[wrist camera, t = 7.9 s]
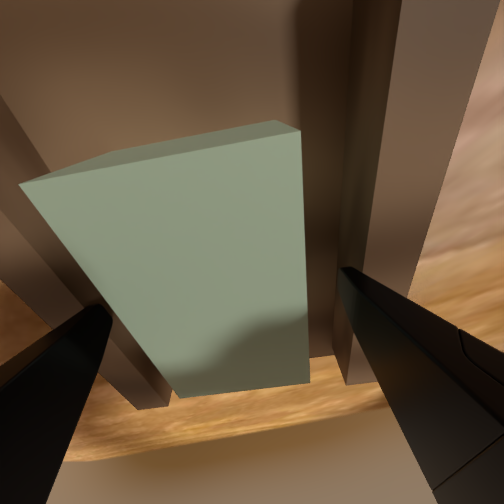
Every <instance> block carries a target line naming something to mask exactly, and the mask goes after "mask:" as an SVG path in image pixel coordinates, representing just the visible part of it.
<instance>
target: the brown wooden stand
mask: <svg viewBox="0 0 504 504" xmlns="http://www.w3.org/2000/svg"><path fill="white" fill-rule="evenodd" d="M499 2H500V0H0V279H1V280H2V281H3V282H4V283H5V284H6V285H7V286H8V287H9V288H10V289H11V290H12V291H13V292H14V293H15V294H16V295H18V296H19V297H20V298H21V299H22V300H23V301H24V302H25V303H26V304H27V305H28V306H29V307H30V308H31V309H32V310H33V311H34V312H35V313H36V314H37V315H39V316H40V317H41V318H42V319H43V320H44V321H45V322H46V323H47V324H48V325H49V326H50V327H51V328H52V329H55V328H56V327H58V326H59V325H61V324H62V323H64V322H65V321H66V320H68V319H69V318H71V317H72V316H74V315H75V314H77V313H78V312H79V311H81V310H82V309H84V308H85V307H87V306H89V305H93V304H102V305H103V306H104V307H105V309H106V310H107V311H108V312H109V314H110V315H111V316H112V318H113V325H112V328H111V332H110V335H109V339H108V342H107V345H106V349H105V352H104V356H103V359H102V362H101V365H100V368H99V370H98V373H99V374H100V375H102V376H103V377H104V378H105V379H106V380H107V381H108V382H109V383H110V384H111V385H112V386H113V387H114V388H115V389H116V390H117V391H118V392H119V393H120V394H121V395H123V396H124V397H125V398H126V399H127V400H128V401H129V402H130V403H131V404H132V405H133V406H134V407H135V408H136V409H137V410H141V409H150V408H158V407H167V406H168V405H169V401H170V397H171V393H172V388H171V386H170V385H169V384H168V382H167V381H166V380H165V378H164V377H163V376H162V374H161V373H160V372H159V370H158V369H157V368H156V366H155V365H154V364H153V362H152V361H151V360H150V358H149V357H148V356H147V354H146V353H145V352H144V350H143V349H142V348H141V346H140V345H139V344H138V342H137V341H136V340H135V338H134V337H133V336H132V334H131V333H130V332H129V331H128V329H127V328H126V327H125V325H124V324H123V323H122V321H121V320H120V319H119V317H118V316H117V315H116V313H115V312H114V311H113V309H112V308H111V307H110V305H109V304H108V303H107V301H106V300H105V299H104V297H103V296H102V295H101V293H100V292H99V291H98V289H97V288H96V287H95V285H94V284H93V283H92V281H91V280H90V279H89V277H88V276H87V275H86V274H85V272H84V271H83V270H82V268H81V267H80V266H79V264H78V263H77V262H76V260H75V259H74V258H73V256H72V255H71V254H70V252H69V251H68V250H67V248H66V247H65V246H64V244H63V243H62V242H61V240H60V239H59V238H58V236H57V235H56V234H55V232H54V231H53V230H52V228H51V227H50V226H49V224H48V223H47V222H46V221H45V219H44V218H43V217H42V215H41V214H40V213H39V211H38V210H37V209H36V207H35V206H34V205H33V203H32V202H31V201H30V199H29V198H28V197H27V195H26V194H25V193H24V191H23V190H22V189H21V187H20V186H19V185H18V184H20V183H23V182H26V181H29V180H32V179H35V178H37V177H40V176H43V175H46V174H49V173H52V172H54V171H57V170H60V169H63V168H66V167H69V166H71V165H74V164H77V163H80V162H83V161H86V160H88V159H91V158H94V157H97V156H100V155H103V154H106V153H108V152H111V151H116V150H121V149H127V148H132V147H137V146H142V145H147V144H152V143H158V142H163V141H168V140H173V139H178V138H183V137H189V136H194V135H199V134H204V133H209V132H214V131H220V130H225V129H230V128H235V127H240V126H245V125H251V124H256V123H261V122H266V121H271V120H277V121H280V122H282V123H284V124H286V125H289V126H291V127H293V128H296V129H298V130H300V131H301V151H302V177H303V204H304V230H305V257H306V284H307V310H308V337H309V358H314V357H322V356H330V355H335V357H336V359H337V362H338V365H339V368H340V370H341V373H342V376H343V378H344V381H345V384H346V385H354V384H362V383H371V382H378V381H377V379H376V377H375V375H374V373H373V371H372V369H371V367H370V365H369V363H368V361H367V359H366V357H365V355H364V353H363V351H362V349H361V346H360V344H359V342H358V340H357V338H356V336H355V334H354V332H353V330H352V328H351V325H350V322H349V319H348V317H347V314H346V311H345V308H344V305H343V303H342V300H341V297H340V294H339V291H338V287H337V281H338V270H339V268H341V267H347V266H351V267H354V268H355V269H357V270H359V271H360V272H362V273H364V274H366V275H367V276H369V277H371V278H373V279H374V280H376V281H378V282H380V283H381V284H383V285H385V286H387V287H388V288H390V289H392V290H394V291H395V292H397V293H399V294H401V295H402V296H404V297H406V298H407V295H408V292H409V289H410V286H411V282H412V279H413V276H414V273H415V270H416V266H417V263H418V260H419V257H420V254H421V251H422V247H423V244H424V241H425V238H426V235H427V231H428V228H429V225H430V222H431V219H432V216H433V212H434V209H435V206H436V203H437V200H438V196H439V193H440V190H441V187H442V184H443V181H444V177H445V174H446V171H447V168H448V165H449V161H450V158H451V155H452V152H453V149H454V146H455V142H456V139H457V136H458V133H459V130H460V126H461V123H462V120H463V117H464V114H465V111H466V107H467V104H468V101H469V98H470V95H471V91H472V88H473V85H474V82H475V79H476V76H477V72H478V69H479V66H480V63H481V60H482V57H483V53H484V50H485V47H486V44H487V41H488V37H489V34H490V31H491V28H492V25H493V22H494V18H495V15H496V12H497V9H498V6H499Z"/></svg>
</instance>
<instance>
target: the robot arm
mask: <svg viewBox="0 0 504 504" xmlns="http://www.w3.org/2000/svg"><path fill="white" fill-rule="evenodd" d="M337 287H338V291H339V294H340V297H341V300H342V303H343V305H344V308H345V311H346V314H347V317H348V319H349V322H350V325H351V328H352V330H353V332H354V334H355V336H356V338H357V340H358V342H359V344H360V346H361V349H362V351H363V353H364V355H365V357H366V359H367V361H368V363H369V365H370V367H371V369H372V371H373V373H374V375H375V377H376V379H377V381H378V383H379V385H380V387H381V389H382V391H383V393H384V395H385V397H386V399H387V401H388V403H389V405H390V407H391V409H392V411H393V413H394V415H395V417H396V419H397V421H398V423H399V425H400V427H401V430H402V432H403V433H404V436H405V438H406V440H407V442H408V444H409V446H410V448H411V450H412V452H413V454H414V456H415V458H416V460H417V462H418V464H419V466H420V468H421V470H422V472H423V474H424V476H425V478H426V480H427V482H428V484H429V486H430V488H431V490H433V491H432V493H433V494H434V497H435V499H436V501H437V503H438V504H504V353H503V352H501V351H499V350H497V349H496V348H494V347H492V346H490V345H488V344H486V343H485V342H483V341H481V340H479V339H477V338H476V337H474V336H472V335H470V334H469V333H467V332H465V331H463V330H462V329H458V328H457V327H456V326H455V325H453V324H451V323H449V322H448V321H446V320H444V319H442V318H441V317H439V316H437V315H435V314H434V313H432V312H430V311H428V310H427V309H425V308H423V307H421V306H420V305H418V304H416V303H415V302H413V301H411V300H409V299H408V298H406V297H404V296H402V295H401V294H399V293H397V292H395V291H394V290H392V289H390V288H388V287H387V286H385V285H383V284H381V283H380V282H378V281H376V280H374V279H373V278H371V277H369V276H367V275H366V274H364V273H362V272H360V271H359V270H357V269H355V268H354V267H351V266H347V267H341V268H339V270H338V281H337ZM112 325H113V318H112V316H111V315H110V314H109V312H108V311H107V310H106V309H105V307H104V306H103V305H102V304H93V305H89V306H87V307H85V308H84V309H82V310H81V311H79V312H78V313H77V314H75V315H74V316H72V317H71V318H69V319H68V320H66V321H65V322H64V323H62V324H61V325H59V326H58V327H56V328H55V329H53V330H52V331H51V332H49V333H48V334H46V335H45V336H43V337H42V338H40V339H39V340H37V341H36V342H35V343H33V344H32V345H30V346H29V347H27V348H26V349H24V350H23V351H22V352H20V353H19V354H17V355H16V356H14V357H13V358H11V359H10V360H9V361H7V362H6V363H4V364H3V365H1V366H0V504H46V502H47V500H48V497H49V494H50V492H51V489H52V487H53V484H54V482H55V479H56V477H57V474H58V472H59V469H60V467H61V464H62V462H63V459H64V456H65V454H66V451H67V449H68V446H69V444H70V441H71V439H72V436H73V434H74V431H75V429H76V426H77V423H78V421H79V418H80V416H81V413H82V411H83V408H84V406H85V403H86V401H87V398H88V396H89V393H90V390H91V388H92V385H93V383H94V380H95V378H96V375H97V373H98V370H99V368H100V365H101V362H102V359H103V356H104V352H105V349H106V345H107V342H108V339H109V335H110V332H111V328H112Z"/></svg>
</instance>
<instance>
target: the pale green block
mask: <svg viewBox="0 0 504 504" xmlns="http://www.w3.org/2000/svg"><path fill="white" fill-rule="evenodd" d="M18 185H19V186H20V187H21V189H22V190H23V191H24V193H25V194H26V195H27V197H28V198H29V199H30V201H31V202H32V203H33V205H34V206H35V207H36V209H37V210H38V211H39V213H40V214H41V215H42V217H43V218H44V219H45V221H46V222H47V223H48V224H49V226H50V227H51V228H52V230H53V231H54V232H55V234H56V235H57V236H58V238H59V239H60V240H61V242H62V243H63V244H64V246H65V247H66V248H67V250H68V251H69V252H70V254H71V255H72V256H73V258H74V259H75V260H76V262H77V263H78V264H79V266H80V267H81V268H82V270H83V271H84V272H85V274H86V275H87V276H88V277H89V279H90V280H91V281H92V283H93V284H94V285H95V287H96V288H97V289H98V291H99V292H100V293H101V295H102V296H103V297H104V299H105V300H106V301H107V303H108V304H109V305H110V307H111V308H112V309H113V311H114V312H115V313H116V315H117V316H118V317H119V319H120V320H121V321H122V323H123V324H124V325H125V327H126V328H127V329H128V331H129V332H130V333H131V334H132V336H133V337H134V338H135V340H136V341H137V342H138V344H139V345H140V346H141V348H142V349H143V350H144V352H145V353H146V354H147V356H148V357H149V358H150V360H151V361H152V362H153V364H154V365H155V366H156V368H157V369H158V370H159V372H160V373H161V374H162V376H163V377H164V378H165V380H166V381H167V382H168V384H169V385H170V386H171V388H172V389H173V390H174V391H175V393H176V394H177V395H178V397H179V398H188V397H196V396H205V395H213V394H222V393H230V392H238V391H247V390H255V389H263V388H272V387H280V386H288V385H297V384H305V383H310V364H309V337H308V310H307V284H306V257H305V230H304V204H303V177H302V151H301V131H300V130H298V129H296V128H293V127H291V126H289V125H286V124H284V123H282V122H280V121H277V120H271V121H266V122H261V123H256V124H251V125H245V126H240V127H235V128H230V129H225V130H220V131H214V132H209V133H204V134H199V135H194V136H189V137H183V138H178V139H173V140H168V141H163V142H158V143H152V144H147V145H142V146H137V147H132V148H127V149H121V150H116V151H111V152H108V153H106V154H103V155H100V156H97V157H94V158H91V159H88V160H86V161H83V162H80V163H77V164H74V165H71V166H69V167H66V168H63V169H60V170H57V171H54V172H52V173H49V174H46V175H43V176H40V177H37V178H35V179H32V180H29V181H26V182H23V183H20V184H18Z"/></svg>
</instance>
